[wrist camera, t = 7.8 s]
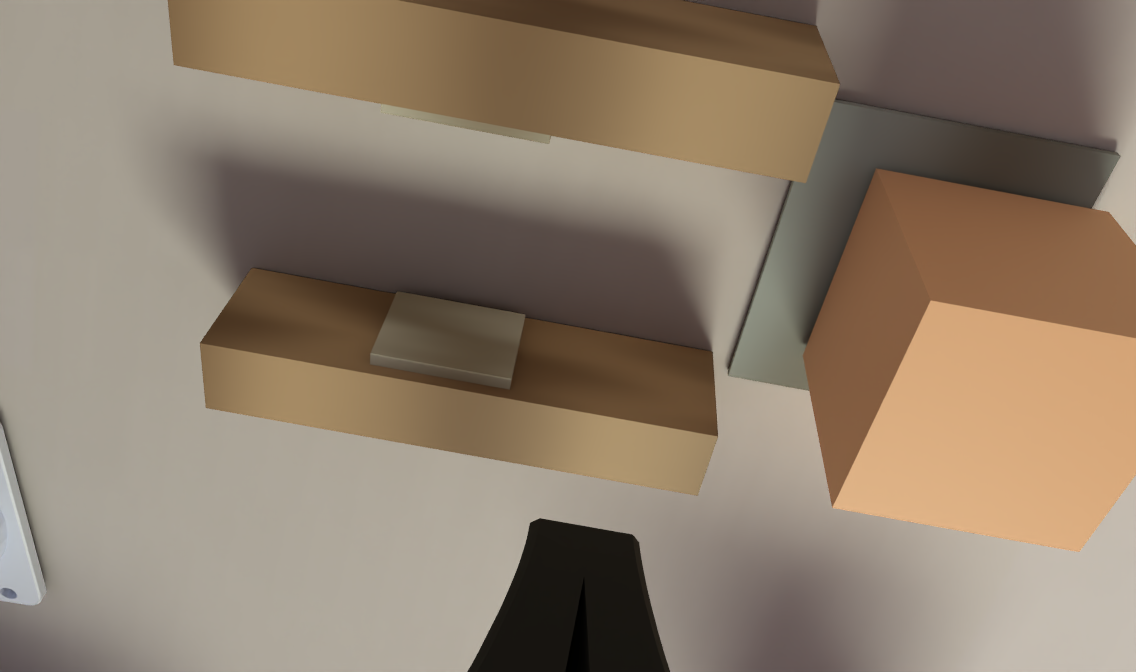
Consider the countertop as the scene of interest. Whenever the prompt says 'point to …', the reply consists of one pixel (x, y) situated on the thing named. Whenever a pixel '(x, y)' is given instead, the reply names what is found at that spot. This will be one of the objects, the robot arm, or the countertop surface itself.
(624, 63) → the chute
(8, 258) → the countertop surface
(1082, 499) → the block
